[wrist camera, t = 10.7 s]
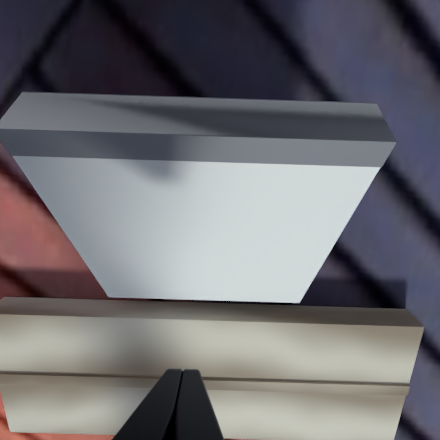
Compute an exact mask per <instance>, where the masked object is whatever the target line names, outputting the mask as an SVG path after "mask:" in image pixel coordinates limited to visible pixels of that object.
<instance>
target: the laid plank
mask: <svg viewBox="0 0 440 440" xmlns="http://www.w3.org/2000/svg"><path fill="white" fill-rule="evenodd" d="M423 330H424V326H423V325H422V324H421V323H420V322H419V321H418V320H417V319H416V318H415V317H414V316H413V315H411V314H410V313H409V312H408V311H407V310H406V309H392V308H360V307H327V306H294V305H261V304H228V303H195V302H162V301H130V300H97V299H64V298H31V297H3V298H2V299H1V300H0V391H1V395H2V400H3V404H4V408H5V412H6V417H7V421H8V425H9V429H10V432H29V433H63V434H97V435H116V434H117V432H118V431H119V430H120V429H121V427H122V426H123V425H124V423H125V422H126V421H127V420H128V418H129V417H130V416H131V414H132V413H133V412H134V411H135V409H136V408H137V407H138V406H139V404H140V403H141V402H142V400H143V399H144V398H145V397H146V395H147V394H148V393H149V391H150V390H151V389H152V388H153V386H154V385H155V384H156V382H157V381H158V380H159V379H160V377H161V376H162V375H163V373H164V372H165V371H166V370H167V369H168V368H180V369H182V370H183V371H184V369H198V370H199V371H200V373H201V376H202V379H203V381H204V384H205V387H206V390H207V393H208V395H209V398H210V401H211V404H212V407H213V409H214V412H215V415H216V418H217V421H218V423H219V426H220V429H221V432H222V435H223V437H224V438H232V439H266V440H394V437H395V433H396V430H397V426H398V422H399V419H400V415H401V411H402V408H403V404H404V400H405V396H408V392H409V388H410V386H409V382H410V378H411V374H412V371H413V367H414V363H415V359H416V356H417V352H418V348H419V345H420V341H421V337H422V334H423Z"/></svg>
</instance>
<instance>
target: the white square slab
mask: <svg viewBox="0 0 440 440" xmlns="http://www.w3.org/2000/svg"><path fill="white" fill-rule="evenodd" d="M0 141H1V142H2V144H3V145H4V147H5V148H6V150H7V151H8V152H9V154H10V155H11V156H13V158H14V159H15V161H16V162H17V164H18V165H19V167H20V168H21V169H22V171H23V172H24V174H25V175H26V177H27V178H28V180H29V181H30V183H31V184H32V186H33V187H34V189H35V190H36V191H37V193H38V194H39V196H40V197H41V199H42V200H43V202H44V203H45V205H46V206H47V208H48V209H49V210H50V212H51V213H52V215H53V216H54V218H55V219H56V221H57V222H58V224H59V225H60V227H61V228H62V230H63V231H64V232H65V234H66V235H67V237H68V238H69V240H70V241H71V243H72V244H73V246H74V247H75V249H76V250H77V252H78V253H79V254H80V256H81V257H82V259H83V260H84V262H85V263H86V265H87V266H88V268H89V269H90V271H91V272H92V274H93V275H94V276H95V278H96V279H97V281H98V282H99V284H100V285H101V287H102V288H103V290H104V291H105V293H106V294H107V295H108V297H116V298H149V299H182V300H215V301H247V302H280V303H300V301H301V300H302V298H303V296H304V295H305V293H306V291H307V290H308V288H309V286H310V285H311V283H312V281H313V280H314V278H315V276H316V275H317V273H318V271H319V270H320V268H321V266H322V264H323V263H324V261H325V259H326V258H327V256H328V254H329V253H330V251H331V249H332V248H333V246H334V244H335V243H336V241H337V239H338V238H339V236H340V234H341V233H342V231H343V229H344V228H345V226H346V224H347V223H348V221H349V219H350V218H351V216H352V214H353V213H354V211H355V209H356V207H357V206H358V204H359V202H360V201H361V199H362V197H363V196H364V194H365V192H366V191H367V189H368V187H369V186H370V184H371V182H372V181H373V179H374V177H375V176H376V174H377V172H378V171H379V169H380V167H382V166H383V164H384V162H385V161H386V159H387V157H388V156H389V154H390V152H391V151H392V149H393V147H394V146H395V144H396V140H395V138H394V136H393V134H392V132H391V130H390V129H389V127H388V125H387V123H386V121H385V119H384V117H383V115H382V113H381V111H380V109H379V108H378V106H377V104H376V103H366V102H334V101H303V100H271V99H240V98H208V97H177V96H145V95H114V94H82V93H51V92H22V93H21V94H20V96H19V97H18V98H17V99H16V101H15V102H14V103H13V104H12V106H11V107H10V108H9V110H8V111H7V112H6V113H5V115H4V116H3V117H2V118H1V120H0Z"/></svg>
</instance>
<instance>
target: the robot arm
mask: <svg viewBox="0 0 440 440" xmlns="http://www.w3.org/2000/svg"><path fill="white" fill-rule="evenodd" d="M112 440H224V437H223V435H222V432H221V429H220V426H219V423H218V421H217V418H216V415H215V412H214V409H213V407H212V404H211V401H210V398H209V395H208V393H207V390H206V387H205V384H204V381H203V379H202V376H201V373H200V371H199V370H198V369H184V371H183V370H182V369H180V368H168V369H167V370H166V371H165V372H164V373H163V375H162V376H161V377H160V379H159V380H158V381H157V382H156V384H155V385H154V386H153V388H152V389H151V390H150V391H149V393H148V394H147V395H146V397H145V398H144V399H143V400H142V402H141V403H140V404H139V406H138V407H137V408H136V409H135V411H134V412H133V413H132V414H131V416H130V417H129V418H128V420H127V421H126V422H125V423H124V425H123V426H122V427H121V429H120V430H119V431H118V432H117V434H116V435H115V436H114V438H113V439H112Z"/></svg>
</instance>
